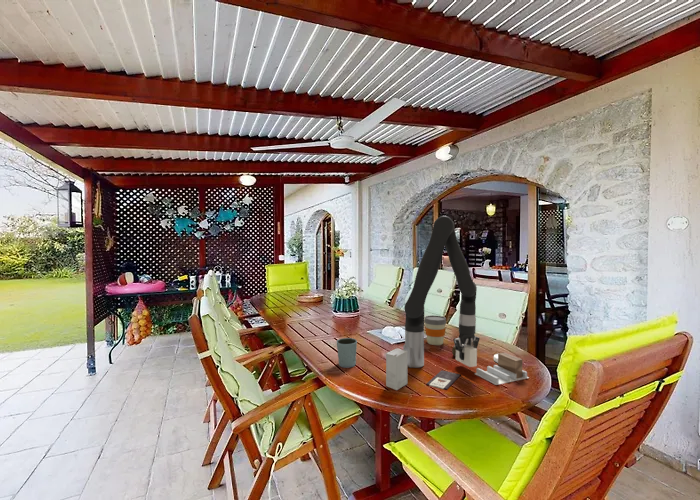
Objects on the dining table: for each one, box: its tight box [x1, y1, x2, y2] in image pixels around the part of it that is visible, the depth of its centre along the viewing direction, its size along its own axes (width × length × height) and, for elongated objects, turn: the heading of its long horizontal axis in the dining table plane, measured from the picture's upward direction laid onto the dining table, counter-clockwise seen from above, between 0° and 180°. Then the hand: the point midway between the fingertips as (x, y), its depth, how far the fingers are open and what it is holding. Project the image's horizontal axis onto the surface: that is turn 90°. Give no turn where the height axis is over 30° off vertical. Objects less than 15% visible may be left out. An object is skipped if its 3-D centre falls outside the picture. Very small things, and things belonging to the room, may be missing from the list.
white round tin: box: [493, 353, 499, 364], centre depth 173 cm, size 10×10×4 cm
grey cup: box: [336, 337, 358, 369], centre depth 173 cm, size 10×10×12 cm
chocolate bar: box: [426, 370, 462, 391], centre depth 154 cm, size 9×1×18 cm
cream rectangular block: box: [455, 344, 478, 368], centre depth 165 cm, size 4×10×8 cm, turn 21°
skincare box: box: [385, 347, 408, 391], centre depth 149 cm, size 8×6×15 cm
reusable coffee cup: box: [424, 315, 447, 346], centre depth 207 cm, size 12×13×15 cm
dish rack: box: [474, 364, 530, 386], centre depth 156 cm, size 19×13×4 cm
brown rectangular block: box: [497, 352, 523, 379], centre depth 158 cm, size 4×10×8 cm, turn 22°
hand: (466, 358), depth 165 cm, fingers closed on cream rectangular block, 4 cm apart
